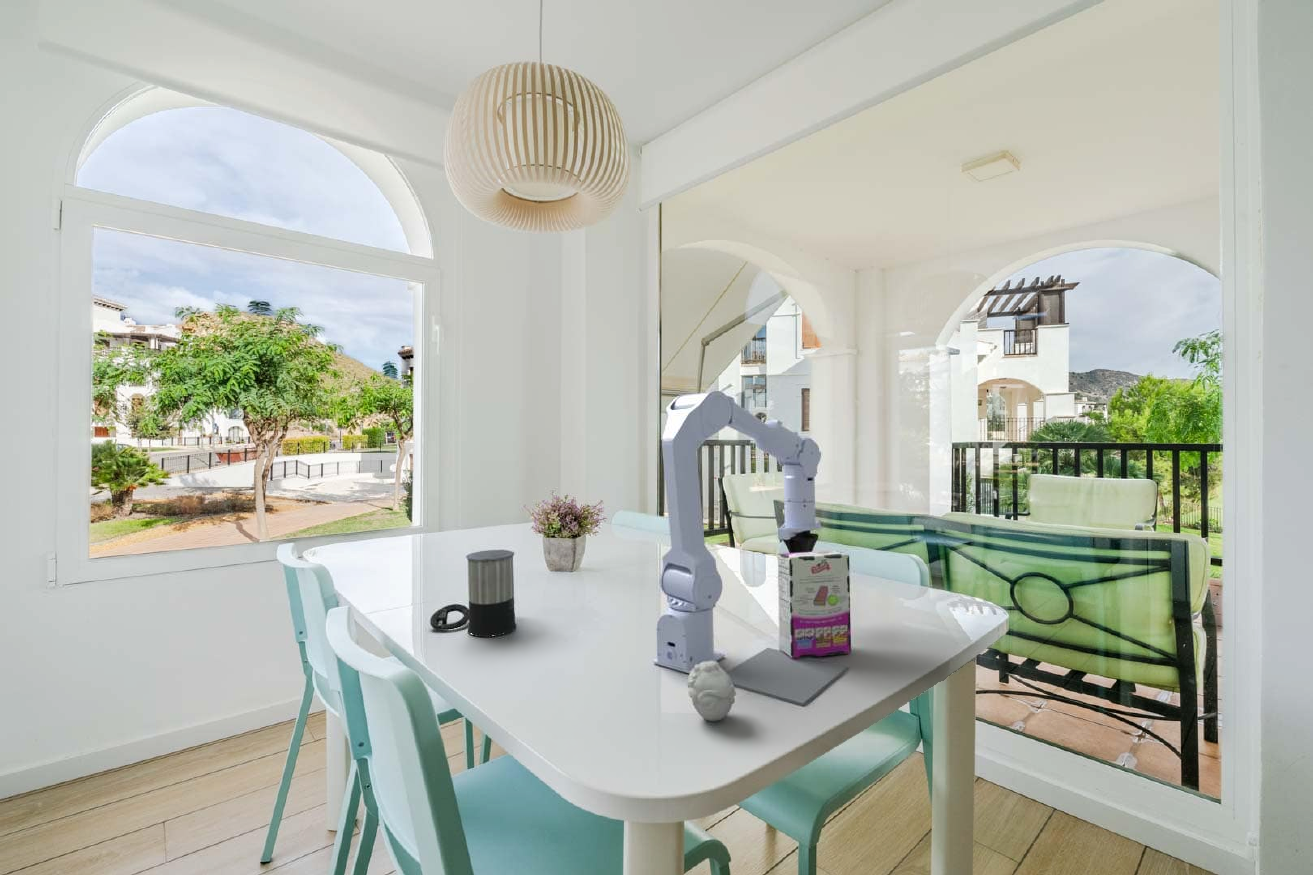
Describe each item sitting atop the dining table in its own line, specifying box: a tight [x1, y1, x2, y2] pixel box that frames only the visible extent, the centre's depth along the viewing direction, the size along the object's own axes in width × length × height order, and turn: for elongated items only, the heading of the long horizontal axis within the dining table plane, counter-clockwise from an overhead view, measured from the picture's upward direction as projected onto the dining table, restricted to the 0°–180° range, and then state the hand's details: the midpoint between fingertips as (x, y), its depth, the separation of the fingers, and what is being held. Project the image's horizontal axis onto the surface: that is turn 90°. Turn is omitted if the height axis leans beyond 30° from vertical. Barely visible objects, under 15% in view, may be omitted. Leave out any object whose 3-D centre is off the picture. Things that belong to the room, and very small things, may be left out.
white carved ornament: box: [687, 661, 737, 722], centre depth 77 cm, size 6×7×7 cm
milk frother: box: [429, 549, 517, 637], centre depth 116 cm, size 14×16×15 cm
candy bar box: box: [777, 550, 852, 659], centre depth 99 cm, size 11×5×16 cm, turn 105°
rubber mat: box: [725, 647, 849, 707], centre depth 90 cm, size 16×14×1 cm
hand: (801, 571), depth 113 cm, fingers closed
